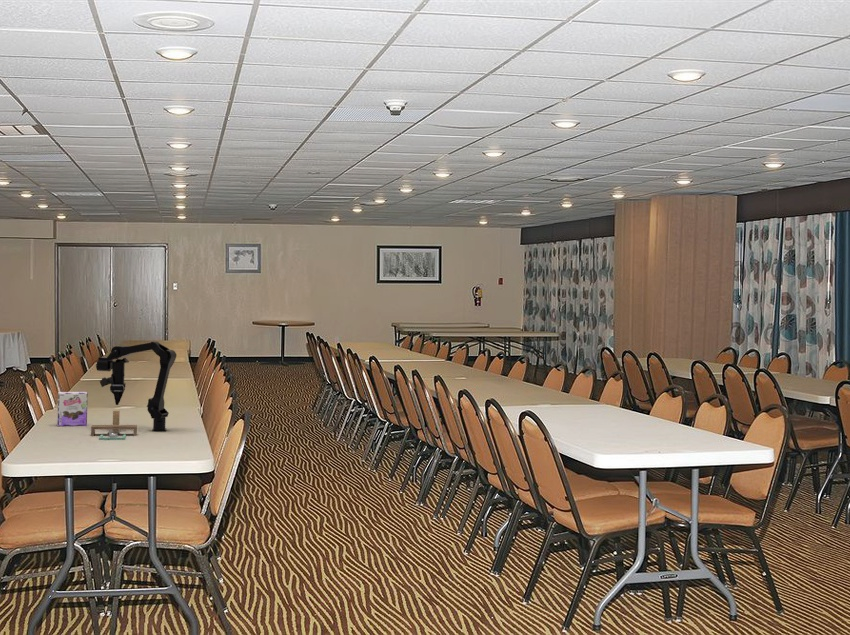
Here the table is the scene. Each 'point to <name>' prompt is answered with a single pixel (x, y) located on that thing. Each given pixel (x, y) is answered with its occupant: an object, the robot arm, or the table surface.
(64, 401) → the candy box
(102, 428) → the walnut plinth
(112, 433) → the steel puck
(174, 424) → the table surface
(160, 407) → the robot arm
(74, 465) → the table surface
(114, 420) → the try square
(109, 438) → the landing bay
